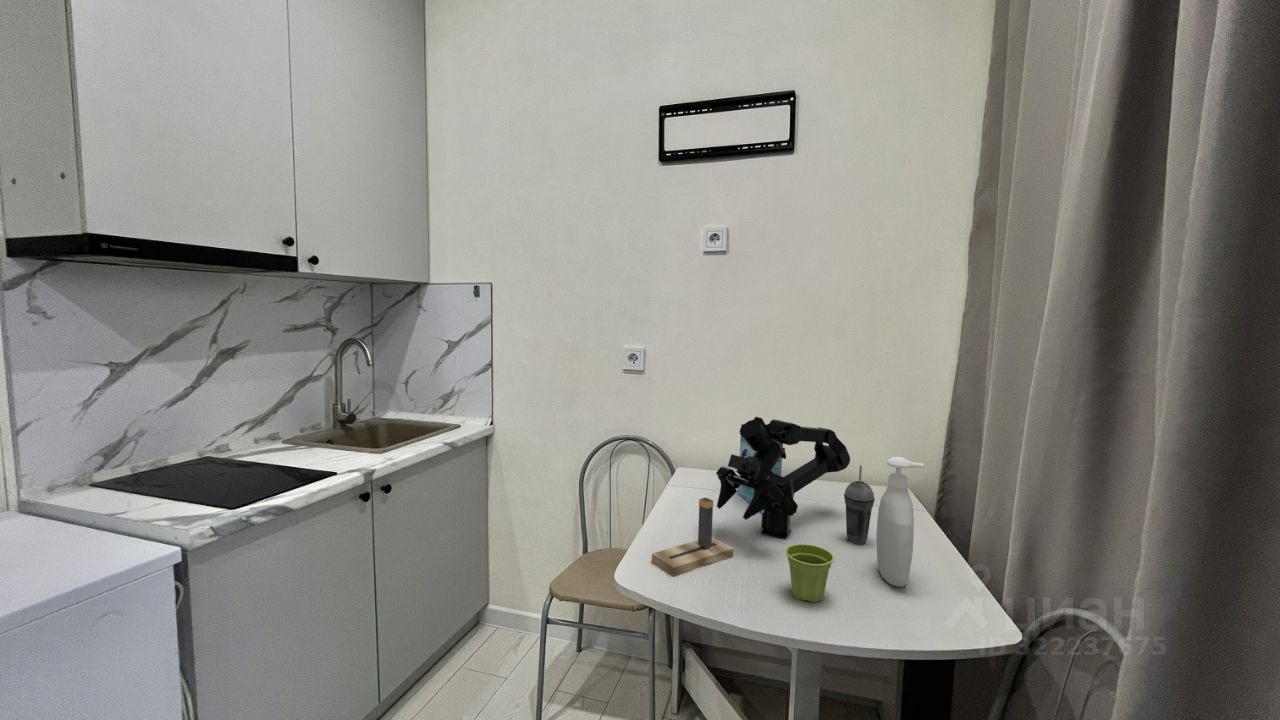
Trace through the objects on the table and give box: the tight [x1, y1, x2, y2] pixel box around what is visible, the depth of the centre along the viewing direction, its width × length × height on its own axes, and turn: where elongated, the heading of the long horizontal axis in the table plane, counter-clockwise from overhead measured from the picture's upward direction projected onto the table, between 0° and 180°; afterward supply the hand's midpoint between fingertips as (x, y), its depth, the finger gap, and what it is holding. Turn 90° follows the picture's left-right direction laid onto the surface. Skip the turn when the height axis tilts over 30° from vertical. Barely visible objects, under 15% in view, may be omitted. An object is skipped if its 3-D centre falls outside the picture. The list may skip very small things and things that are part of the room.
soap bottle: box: [875, 456, 925, 588], centre depth 113 cm, size 14×8×27 cm, turn 169°
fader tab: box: [697, 497, 714, 548], centre depth 122 cm, size 2×3×11 cm
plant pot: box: [784, 543, 835, 603], centre depth 106 cm, size 9×9×9 cm
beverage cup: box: [843, 465, 876, 546], centre depth 132 cm, size 7×7×20 cm
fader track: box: [651, 537, 734, 577], centre depth 120 cm, size 18×8×2 cm, turn 125°
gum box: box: [737, 423, 784, 514], centre depth 158 cm, size 20×5×23 cm, turn 13°
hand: (730, 512), depth 127 cm, fingers open, 9 cm apart
